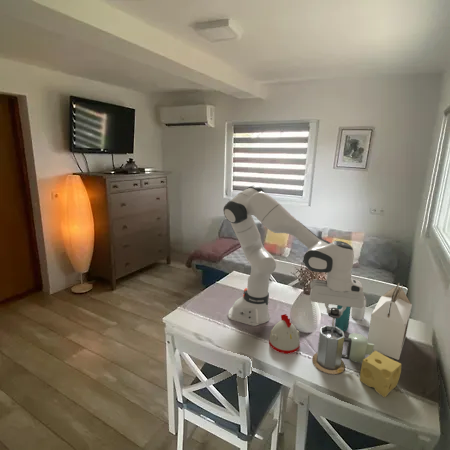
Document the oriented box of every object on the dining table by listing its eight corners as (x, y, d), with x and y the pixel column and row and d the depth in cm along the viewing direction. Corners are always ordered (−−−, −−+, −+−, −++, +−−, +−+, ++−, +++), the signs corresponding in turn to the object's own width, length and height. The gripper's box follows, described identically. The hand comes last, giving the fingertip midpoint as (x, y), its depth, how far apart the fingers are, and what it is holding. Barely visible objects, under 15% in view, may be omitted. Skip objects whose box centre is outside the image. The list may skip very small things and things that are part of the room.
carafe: (312, 370, 119) (316, 338, 115) (311, 350, 131) (315, 320, 127) (349, 378, 115) (354, 345, 112) (345, 356, 128) (349, 326, 124)
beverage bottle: (349, 334, 143) (354, 297, 138) (335, 332, 144) (339, 296, 139) (346, 327, 149) (351, 291, 144) (333, 325, 151) (337, 290, 146)
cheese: (385, 398, 106) (389, 375, 104) (357, 380, 115) (360, 358, 112) (398, 385, 112) (402, 363, 110) (371, 369, 121) (374, 348, 118)
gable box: (398, 360, 126) (409, 302, 119) (365, 348, 134) (374, 292, 127) (405, 336, 143) (416, 284, 136) (376, 326, 151) (384, 276, 144)
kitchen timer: (277, 356, 127) (279, 326, 124) (264, 337, 140) (265, 309, 136) (305, 350, 131) (308, 321, 127) (290, 332, 144) (292, 305, 140)
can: (351, 319, 156) (354, 299, 153) (350, 313, 162) (353, 293, 159) (364, 321, 154) (367, 301, 151) (363, 315, 160) (366, 295, 157)
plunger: (322, 341, 118) (326, 312, 115) (321, 330, 125) (324, 303, 121) (341, 344, 116) (345, 315, 113) (339, 333, 123) (343, 306, 120)
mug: (347, 360, 125) (350, 342, 123) (345, 349, 133) (347, 331, 130) (372, 365, 123) (376, 346, 121) (369, 353, 130) (372, 335, 128)
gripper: (310, 282, 114) (307, 313, 117) (367, 289, 109) (362, 321, 112) (310, 275, 120) (307, 305, 123) (364, 282, 115) (359, 313, 118)
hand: (334, 313), depth 118 cm, fingers closed on plunger, 3 cm apart
